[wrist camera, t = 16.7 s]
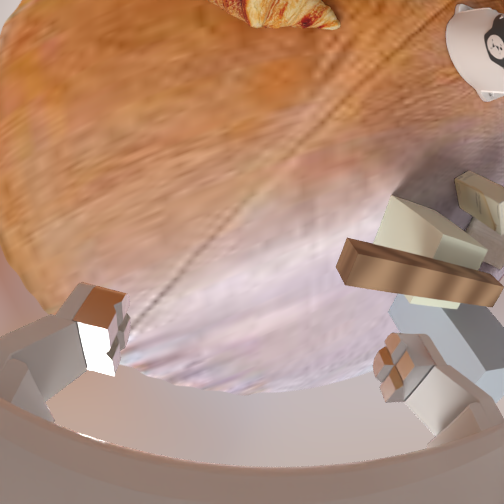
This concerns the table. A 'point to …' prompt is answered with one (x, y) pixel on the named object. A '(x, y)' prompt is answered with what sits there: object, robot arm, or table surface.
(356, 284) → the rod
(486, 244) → the washcloth
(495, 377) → the shelf stand
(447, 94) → the table surface
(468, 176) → the skincare box
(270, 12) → the croissant
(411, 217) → the step block
